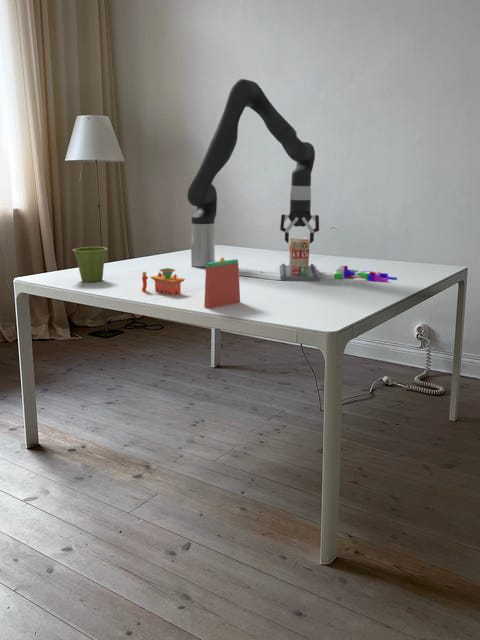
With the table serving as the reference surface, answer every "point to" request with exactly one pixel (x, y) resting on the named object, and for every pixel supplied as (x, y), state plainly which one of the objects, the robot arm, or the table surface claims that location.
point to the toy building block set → (217, 283)
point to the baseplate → (286, 275)
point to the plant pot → (90, 262)
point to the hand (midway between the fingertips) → (299, 242)
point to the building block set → (359, 275)
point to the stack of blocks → (299, 256)
